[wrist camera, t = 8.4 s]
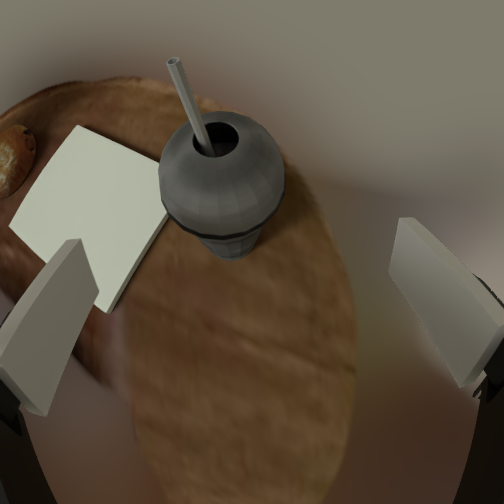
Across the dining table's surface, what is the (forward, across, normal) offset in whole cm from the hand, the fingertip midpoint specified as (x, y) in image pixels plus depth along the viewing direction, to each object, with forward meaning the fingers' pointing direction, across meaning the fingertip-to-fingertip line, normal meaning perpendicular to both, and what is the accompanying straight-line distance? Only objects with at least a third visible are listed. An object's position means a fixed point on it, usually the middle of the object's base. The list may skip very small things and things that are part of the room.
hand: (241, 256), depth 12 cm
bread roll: (+24, -31, +2) cm, 39 cm away
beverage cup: (+15, -1, -7) cm, 16 cm away
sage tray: (+18, -16, -4) cm, 24 cm away
